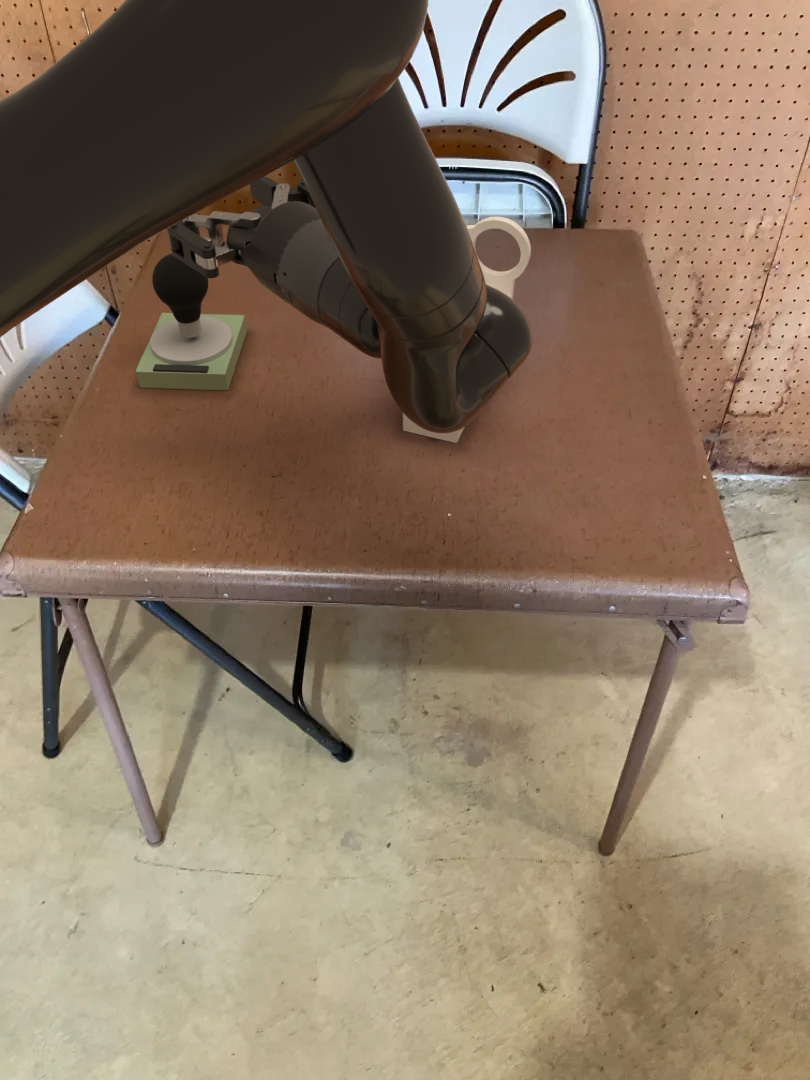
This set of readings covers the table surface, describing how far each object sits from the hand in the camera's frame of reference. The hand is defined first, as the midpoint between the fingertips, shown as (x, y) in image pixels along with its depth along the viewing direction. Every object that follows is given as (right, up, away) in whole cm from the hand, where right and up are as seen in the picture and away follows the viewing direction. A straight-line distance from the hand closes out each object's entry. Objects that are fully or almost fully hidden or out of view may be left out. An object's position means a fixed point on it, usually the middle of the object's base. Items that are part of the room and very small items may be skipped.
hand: (212, 197), depth 76 cm
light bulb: (-7, -8, +21) cm, 23 cm away
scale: (-7, -10, +23) cm, 25 cm away
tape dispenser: (+23, -16, +17) cm, 33 cm away
